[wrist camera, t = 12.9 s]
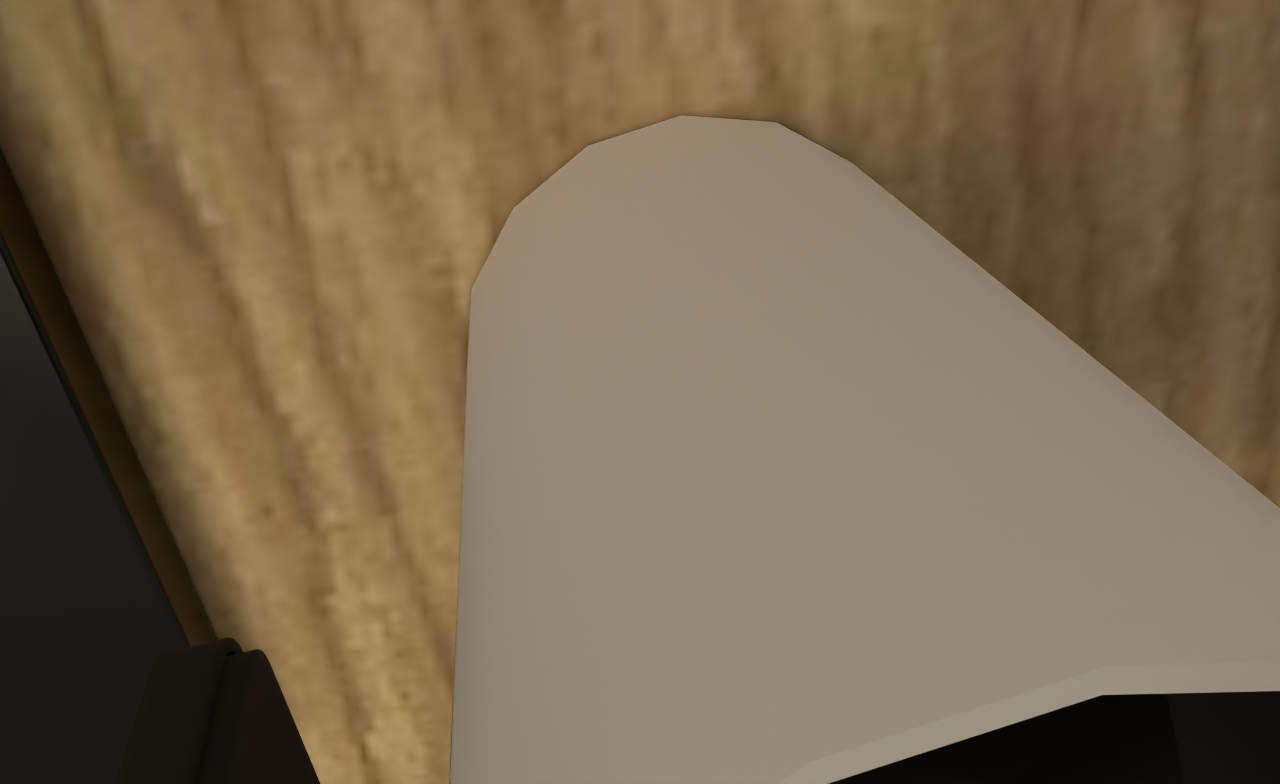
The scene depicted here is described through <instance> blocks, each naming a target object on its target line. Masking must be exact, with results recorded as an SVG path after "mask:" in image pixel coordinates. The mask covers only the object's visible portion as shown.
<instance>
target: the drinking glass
mask: <svg viewBox="0 0 1280 784" xmlns="http://www.w3.org/2000/svg"><path fill="white" fill-rule="evenodd" d="M449 784H1280V508H1279V507H1278V506H1276V505H1275V504H1274V503H1273V502H1271V501H1270V500H1269V499H1268V498H1266V497H1265V496H1264V495H1263V494H1262V493H1260V492H1259V491H1258V490H1257V489H1255V488H1254V487H1253V486H1252V485H1250V484H1249V483H1248V482H1247V481H1245V480H1244V479H1243V478H1242V477H1240V476H1239V475H1238V474H1237V473H1235V472H1234V471H1233V470H1232V469H1231V468H1229V467H1228V466H1227V465H1226V464H1224V463H1223V462H1222V461H1221V460H1219V459H1218V458H1217V457H1216V456H1214V455H1213V454H1212V453H1211V452H1209V451H1208V450H1207V449H1206V448H1205V447H1203V446H1202V445H1201V444H1200V443H1198V442H1197V441H1196V440H1195V439H1193V438H1192V437H1191V436H1190V435H1188V434H1187V433H1186V432H1185V431H1183V430H1182V429H1181V428H1180V427H1178V426H1177V425H1176V424H1175V423H1174V422H1172V421H1171V420H1170V419H1169V418H1167V417H1166V416H1165V415H1164V414H1162V413H1161V412H1160V411H1159V410H1157V409H1156V408H1155V407H1154V406H1152V405H1151V404H1150V403H1149V402H1148V401H1146V400H1145V399H1144V398H1143V397H1141V396H1140V395H1139V394H1138V393H1136V392H1135V391H1134V390H1133V389H1131V388H1130V387H1129V386H1128V385H1126V384H1125V383H1124V382H1123V381H1121V380H1120V379H1119V378H1118V377H1117V376H1115V375H1114V374H1113V373H1112V372H1110V371H1109V370H1108V369H1107V368H1105V367H1104V366H1103V365H1102V364H1100V363H1099V362H1098V361H1097V360H1095V359H1094V358H1093V357H1092V356H1091V355H1089V354H1088V353H1087V352H1086V351H1084V350H1083V349H1082V348H1081V347H1079V346H1078V345H1077V344H1076V343H1074V342H1073V341H1072V340H1071V339H1069V338H1068V337H1067V336H1066V335H1065V334H1063V333H1062V332H1061V331H1060V330H1058V329H1057V328H1056V327H1055V326H1053V325H1052V324H1051V323H1050V322H1048V321H1047V320H1046V319H1045V318H1043V317H1042V316H1041V315H1040V314H1038V313H1037V312H1036V311H1035V310H1034V309H1032V308H1031V307H1030V306H1029V305H1027V304H1026V303H1025V302H1024V301H1022V300H1021V299H1020V298H1019V297H1017V296H1016V295H1015V294H1014V293H1012V292H1011V291H1010V290H1009V289H1008V288H1006V287H1005V286H1004V285H1003V284H1001V283H1000V282H999V281H998V280H996V279H995V278H994V277H993V276H991V275H990V274H989V273H988V272H986V271H985V270H984V269H983V268H981V267H980V266H979V265H978V264H977V263H975V262H974V261H973V260H972V259H970V258H969V257H968V256H967V255H965V254H964V253H963V252H962V251H960V250H959V249H958V248H957V247H955V246H954V245H953V244H952V243H951V242H949V241H948V240H947V239H946V238H944V237H943V236H942V235H941V234H939V233H938V232H937V231H936V230H934V229H933V228H932V227H931V226H929V225H928V224H927V223H926V222H924V221H923V220H922V219H921V218H920V217H918V216H917V215H916V214H915V213H913V212H912V211H911V210H910V209H908V208H907V207H906V206H905V205H903V204H902V203H901V202H900V201H898V200H897V199H896V198H895V197H894V196H892V195H891V194H890V193H889V192H887V191H886V190H885V189H884V188H882V187H881V186H880V185H879V184H877V183H876V182H875V181H874V180H872V179H871V178H870V177H869V176H868V175H866V174H865V173H864V172H863V171H861V170H860V169H859V168H858V167H857V166H856V165H855V164H853V163H851V162H850V161H848V160H846V159H844V158H842V157H840V156H838V155H837V154H835V153H833V152H831V151H829V150H827V149H825V148H823V147H822V146H820V145H818V144H816V143H814V142H812V141H810V140H809V139H807V138H805V137H803V136H801V135H799V134H797V133H795V132H794V131H792V130H790V129H788V128H786V127H784V126H782V125H781V124H779V123H777V122H767V121H753V120H740V119H726V118H713V117H699V116H686V115H680V116H677V117H674V118H671V119H668V120H665V121H662V122H659V123H656V124H653V125H650V126H647V127H644V128H641V129H637V130H634V131H631V132H628V133H625V134H622V135H619V136H616V137H613V138H610V139H607V140H604V141H601V142H598V143H595V144H592V145H589V146H587V147H585V148H584V149H583V150H582V151H581V152H580V153H578V154H577V155H576V156H575V157H574V158H572V159H571V160H570V161H569V162H568V163H566V164H565V165H564V166H563V167H562V168H560V169H559V170H558V171H557V172H556V173H555V174H553V175H552V176H551V177H550V178H549V179H547V180H546V181H545V182H544V183H543V184H541V185H540V186H539V187H538V188H537V189H535V190H534V191H533V192H532V193H531V194H529V195H528V196H527V197H526V198H525V199H524V200H522V201H521V202H520V203H519V204H518V205H516V206H515V207H514V208H513V209H512V211H511V213H510V215H509V217H508V219H507V221H506V223H505V225H504V227H503V229H502V231H501V233H500V235H499V236H498V238H497V240H496V242H495V244H494V246H493V248H492V250H491V252H490V254H489V256H488V258H487V260H486V262H485V264H484V266H483V267H482V269H481V271H480V273H479V275H478V277H477V279H476V281H475V283H474V285H473V287H472V289H471V302H470V321H469V340H468V359H467V393H466V416H465V438H464V461H463V484H462V507H461V530H460V553H459V575H458V598H457V621H456V644H455V667H454V690H453V712H452V735H451V758H450V781H449Z"/></svg>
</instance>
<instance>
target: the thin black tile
mask: <svg viewBox="0 0 1280 784" xmlns="http://www.w3.org/2000/svg"><path fill="white" fill-rule="evenodd" d="M215 640H218V639H217V636H216V634H215V632H214V630H213V627H212V625H211V623H210V621H209V618H208V616H207V614H206V611H205V609H204V607H203V605H202V602H201V600H200V598H199V596H198V593H197V591H196V589H195V587H194V584H193V582H192V580H191V578H190V575H189V573H188V571H187V569H186V566H185V564H184V562H183V559H182V557H181V555H180V553H179V550H178V548H177V546H176V544H175V541H174V539H173V537H172V535H171V532H170V530H169V528H168V526H167V523H166V521H165V519H164V517H163V514H162V512H161V510H160V507H159V505H158V503H157V501H156V498H155V496H154V494H153V492H152V489H151V487H150V485H149V483H148V480H147V478H146V476H145V474H144V471H143V469H142V467H141V465H140V462H139V460H138V458H137V455H136V453H135V451H134V449H133V446H132V444H131V442H130V440H129V437H128V435H127V433H126V431H125V428H124V426H123V424H122V422H121V419H120V417H119V415H118V413H117V410H116V408H115V406H114V403H113V401H112V399H111V397H110V394H109V392H108V390H107V388H106V385H105V383H104V381H103V379H102V376H101V374H100V372H99V370H98V367H97V365H96V363H95V361H94V358H93V356H92V354H91V351H90V349H89V347H88V345H87V342H86V340H85V338H84V336H83V333H82V331H81V329H80V327H79V324H78V322H77V320H76V318H75V315H74V313H73V311H72V309H71V306H70V304H69V302H68V299H67V297H66V295H65V293H64V290H63V288H62V286H61V284H60V281H59V279H58V277H57V275H56V272H55V270H54V268H53V266H52V263H51V261H50V259H49V257H48V254H47V252H46V250H45V247H44V245H43V243H42V241H41V238H40V236H39V234H38V232H37V229H36V227H35V225H34V223H33V220H32V218H31V216H30V214H29V211H28V209H27V207H26V205H25V202H24V200H23V198H22V195H21V193H20V191H19V189H18V186H17V184H16V182H15V180H14V177H13V175H12V173H11V171H10V168H9V166H8V164H7V162H6V159H5V157H4V155H3V153H2V150H1V148H0V784H115V783H116V780H117V777H118V774H119V771H120V767H121V764H122V761H123V758H124V754H125V751H126V748H127V745H128V742H129V738H130V735H131V732H132V729H133V725H134V722H135V719H136V716H137V713H138V709H139V706H140V703H141V700H142V696H143V693H144V690H145V687H146V684H147V680H148V677H149V674H150V671H151V668H152V665H153V663H154V661H155V659H156V657H157V656H158V655H159V654H161V653H162V652H167V651H171V650H175V649H180V648H184V647H189V646H193V645H197V644H202V643H206V642H211V641H215Z"/></svg>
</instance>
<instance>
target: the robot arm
mask: <svg viewBox="0 0 1280 784" xmlns="http://www.w3.org/2000/svg"><path fill="white" fill-rule="evenodd" d="M115 784H320V782H319V780H318V777H317V775H316V772H315V770H314V768H313V765H312V763H311V760H310V758H309V756H308V753H307V751H306V749H305V746H304V744H303V741H302V739H301V737H300V734H299V732H298V729H297V727H296V725H295V722H294V720H293V717H292V715H291V713H290V710H289V708H288V706H287V703H286V701H285V698H284V696H283V694H282V691H281V689H280V686H279V684H278V682H277V679H276V677H275V675H274V672H273V670H272V667H271V665H270V663H269V661H268V659H267V657H266V655H265V654H264V653H263V652H262V650H258V649H257V650H252V651H248V652H244V653H243V651H242V649H241V647H240V645H239V644H238V643H237V642H236V641H235V640H234V639H232V638H224V639H219V640H215V641H211V642H206V643H202V644H197V645H193V646H189V647H184V648H180V649H175V650H171V651H167V652H162V653H161V654H159V655H158V656H157V657H156V659H155V661H154V663H153V665H152V668H151V671H150V674H149V677H148V680H147V684H146V687H145V690H144V693H143V696H142V700H141V703H140V706H139V709H138V713H137V716H136V719H135V722H134V725H133V729H132V732H131V735H130V738H129V742H128V745H127V748H126V751H125V754H124V758H123V761H122V764H121V767H120V771H119V774H118V777H117V780H116V783H115Z"/></svg>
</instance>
